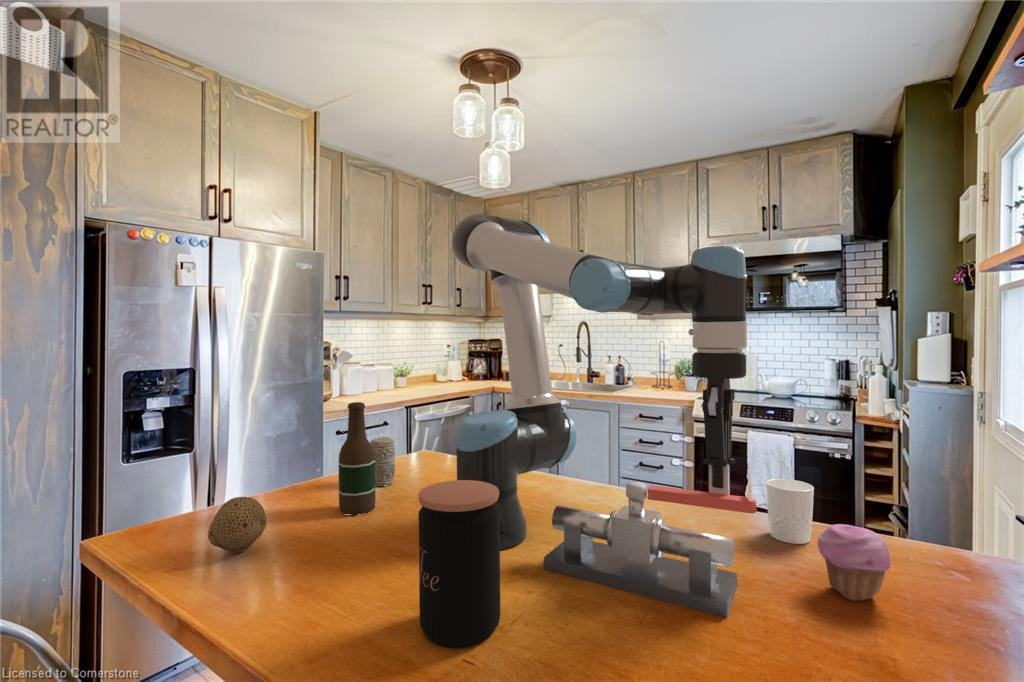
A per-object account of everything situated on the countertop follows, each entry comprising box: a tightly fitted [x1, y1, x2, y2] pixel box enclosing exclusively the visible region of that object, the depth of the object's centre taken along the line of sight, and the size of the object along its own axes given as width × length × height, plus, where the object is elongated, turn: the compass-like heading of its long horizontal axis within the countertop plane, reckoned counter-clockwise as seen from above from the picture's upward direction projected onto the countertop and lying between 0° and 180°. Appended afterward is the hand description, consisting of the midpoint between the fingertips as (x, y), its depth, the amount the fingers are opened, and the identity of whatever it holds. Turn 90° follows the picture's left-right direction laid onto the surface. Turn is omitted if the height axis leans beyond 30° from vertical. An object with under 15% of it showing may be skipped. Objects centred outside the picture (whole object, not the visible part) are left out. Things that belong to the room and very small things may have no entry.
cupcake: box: [817, 523, 891, 602], centre depth 73 cm, size 9×9×10 cm
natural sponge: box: [207, 496, 268, 554], centre depth 89 cm, size 9×9×10 cm
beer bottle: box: [338, 401, 376, 515], centre depth 111 cm, size 8×8×24 cm
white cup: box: [765, 478, 815, 545], centre depth 94 cm, size 8×8×10 cm
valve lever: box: [625, 481, 757, 514], centre depth 76 cm, size 19×3×2 cm, turn 63°
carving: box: [370, 436, 396, 487], centre depth 131 cm, size 6×8×12 cm
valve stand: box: [543, 498, 738, 618], centre depth 79 cm, size 28×10×12 cm, turn 59°
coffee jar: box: [417, 479, 501, 649], centre depth 66 cm, size 11×11×18 cm
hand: (719, 506), depth 75 cm, fingers closed
